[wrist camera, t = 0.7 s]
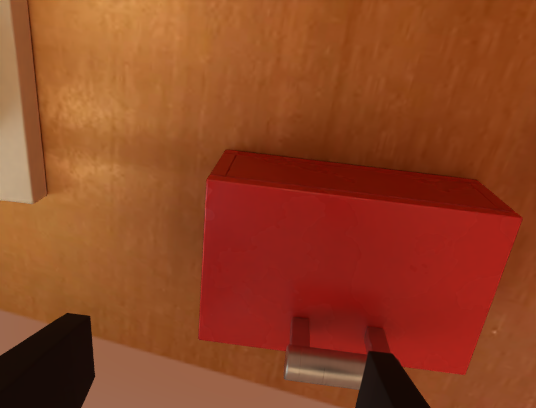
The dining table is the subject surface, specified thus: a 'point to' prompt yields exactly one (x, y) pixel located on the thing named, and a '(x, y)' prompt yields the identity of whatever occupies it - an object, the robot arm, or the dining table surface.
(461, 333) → the red box lid
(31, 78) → the dial knob panel
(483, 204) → the red rectangular open box
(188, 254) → the dining table surface
